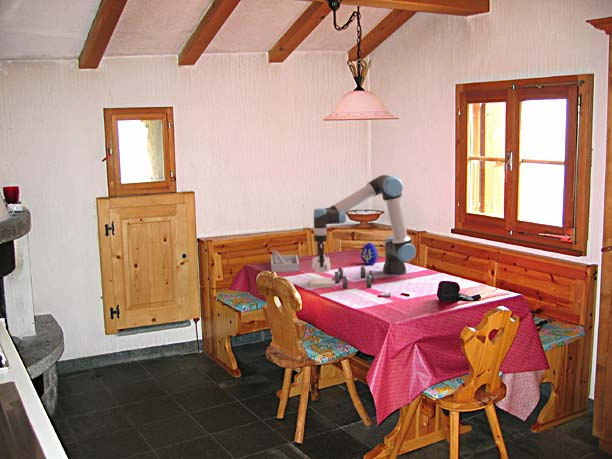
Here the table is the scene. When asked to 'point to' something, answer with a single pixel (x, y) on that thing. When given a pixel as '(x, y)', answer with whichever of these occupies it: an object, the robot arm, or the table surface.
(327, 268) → the mechanical part
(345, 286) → the standoff posts
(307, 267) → the table surface
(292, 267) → the storage bin
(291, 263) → the faucet
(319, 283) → the parts stand
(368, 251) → the ornament
